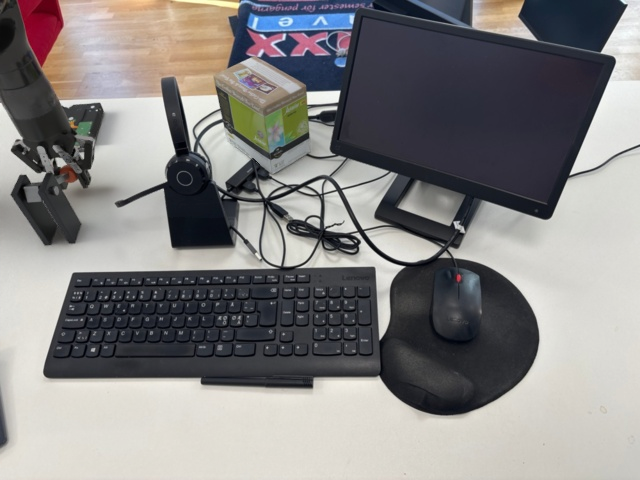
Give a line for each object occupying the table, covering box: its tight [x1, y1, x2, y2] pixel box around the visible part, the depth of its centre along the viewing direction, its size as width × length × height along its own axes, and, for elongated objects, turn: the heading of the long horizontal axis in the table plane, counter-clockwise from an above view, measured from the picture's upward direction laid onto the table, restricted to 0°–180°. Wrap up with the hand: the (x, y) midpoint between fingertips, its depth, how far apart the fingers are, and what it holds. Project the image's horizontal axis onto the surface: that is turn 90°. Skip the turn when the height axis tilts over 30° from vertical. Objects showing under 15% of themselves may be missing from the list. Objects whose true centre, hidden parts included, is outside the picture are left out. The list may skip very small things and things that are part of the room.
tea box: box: [212, 55, 311, 175], centre depth 96 cm, size 15×10×15 cm
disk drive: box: [36, 102, 105, 156], centre depth 105 cm, size 10×3×15 cm
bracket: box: [10, 172, 82, 246], centre depth 82 cm, size 10×8×13 cm
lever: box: [24, 164, 79, 202], centre depth 85 cm, size 15×3×3 cm, turn 4°
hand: (75, 185), depth 92 cm, fingers closed on lever, 3 cm apart
